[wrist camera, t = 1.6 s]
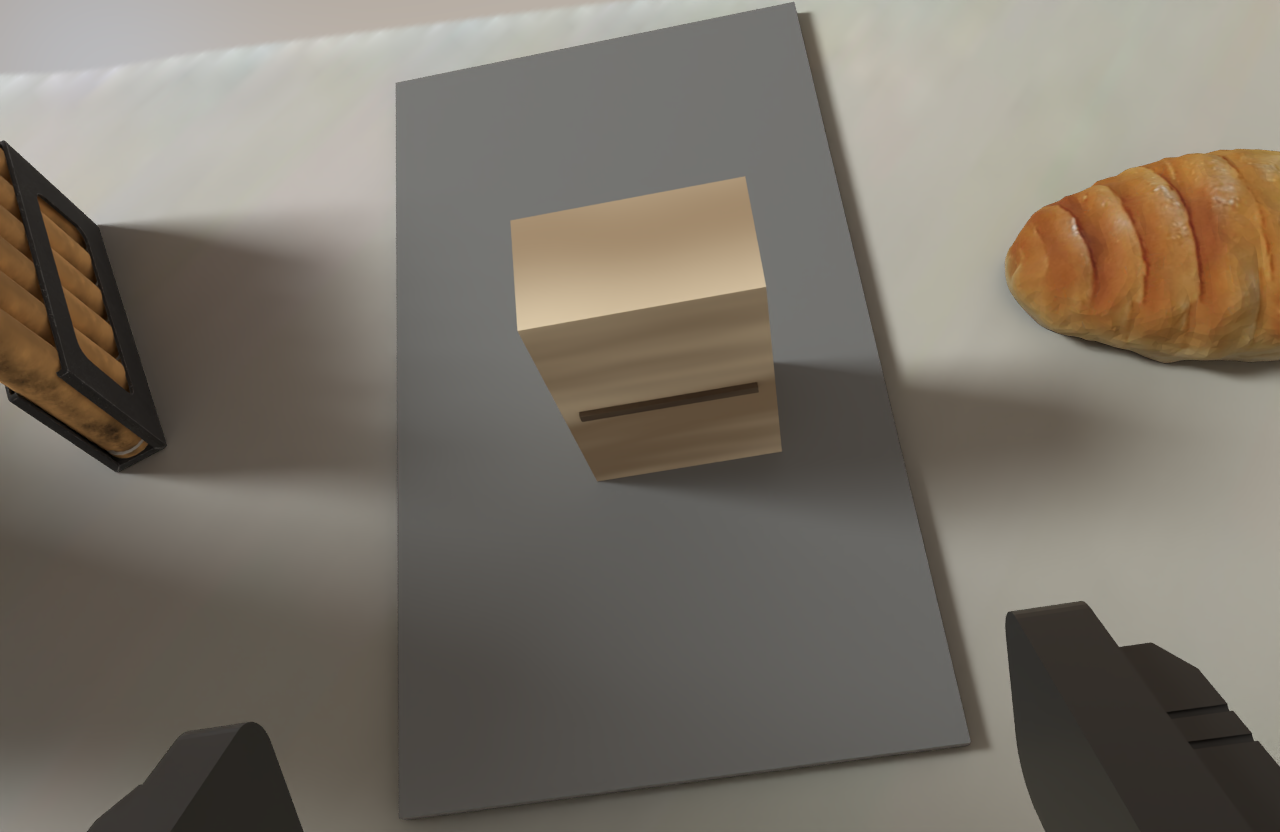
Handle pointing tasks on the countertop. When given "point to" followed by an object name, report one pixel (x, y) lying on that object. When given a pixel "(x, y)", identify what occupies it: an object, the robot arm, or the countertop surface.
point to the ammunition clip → (67, 324)
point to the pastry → (1162, 259)
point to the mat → (654, 502)
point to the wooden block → (652, 327)
